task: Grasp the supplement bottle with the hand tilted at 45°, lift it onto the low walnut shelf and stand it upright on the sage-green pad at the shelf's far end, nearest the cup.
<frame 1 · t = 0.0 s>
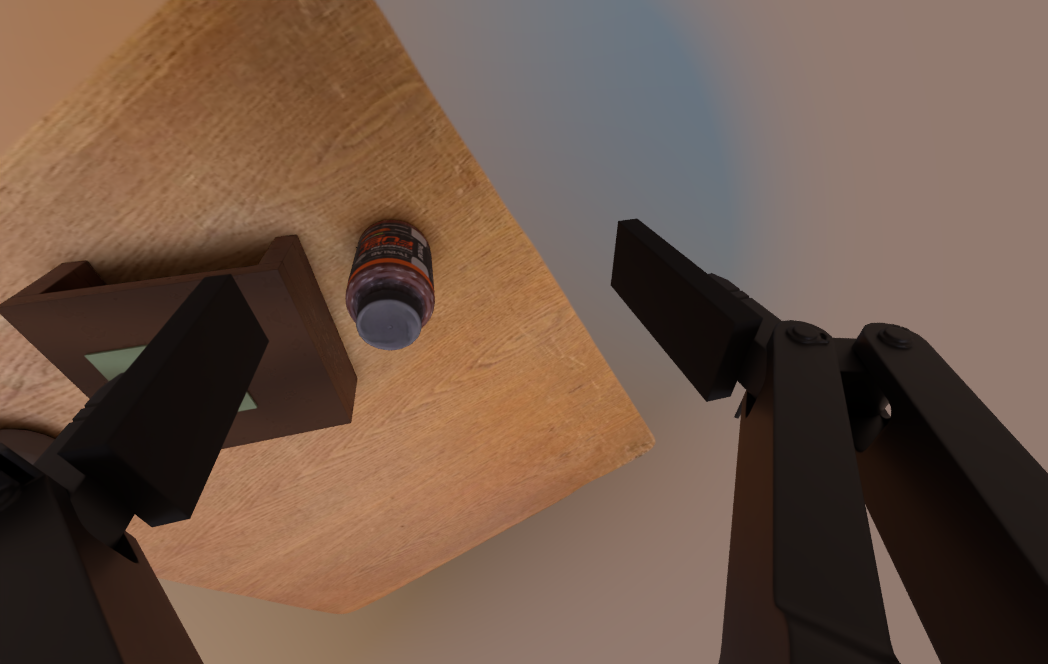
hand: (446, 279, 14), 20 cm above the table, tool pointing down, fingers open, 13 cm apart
cup: (27, 446, 36), on the table
supplement bottle: (395, 249, 34), on the table
shelf: (236, 331, 34), on the table
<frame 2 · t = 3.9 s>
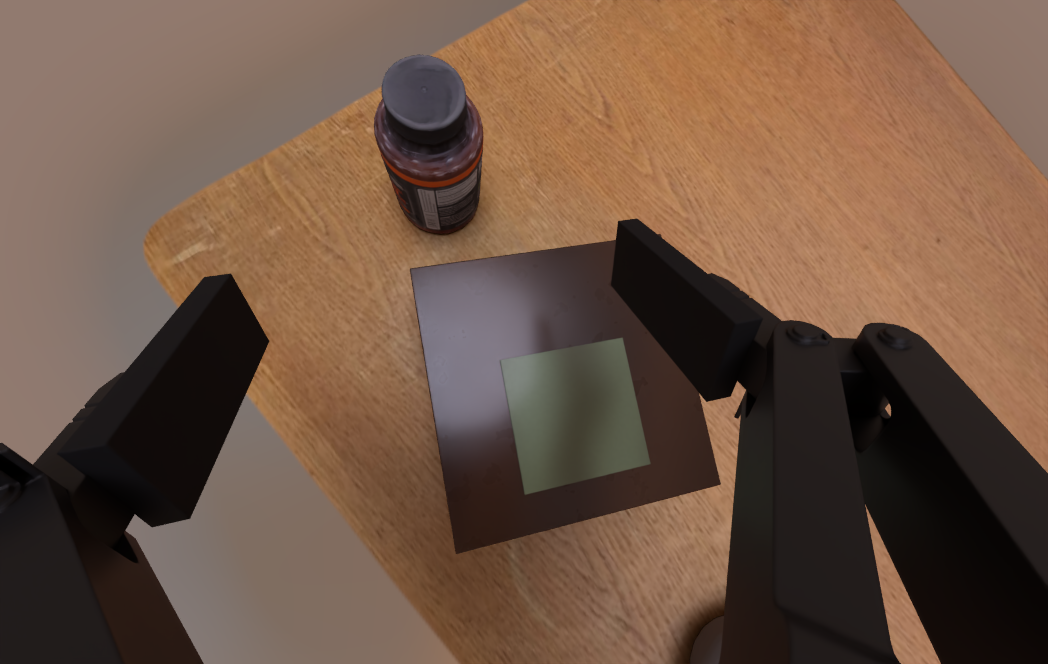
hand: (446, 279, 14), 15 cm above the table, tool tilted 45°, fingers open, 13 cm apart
cup: (726, 657, 28), on the table
supplement bottle: (440, 200, 30), on the table
shelf: (547, 380, 29), on the table
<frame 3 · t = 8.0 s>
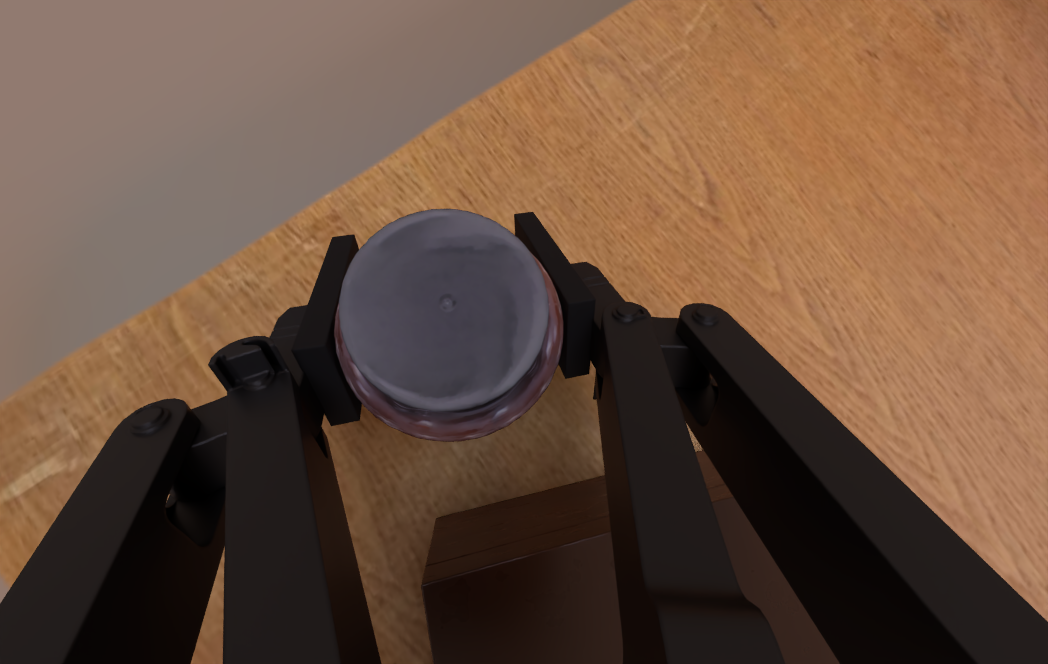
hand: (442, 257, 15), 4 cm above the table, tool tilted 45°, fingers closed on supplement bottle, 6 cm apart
supplement bottle: (461, 353, 19), on the table, touching gripper
shelf: (642, 653, 18), on the table
when the fingers open (10 cm above the table, at t = 14.8 s): supplement bottle stays where it is, resting on shelf.
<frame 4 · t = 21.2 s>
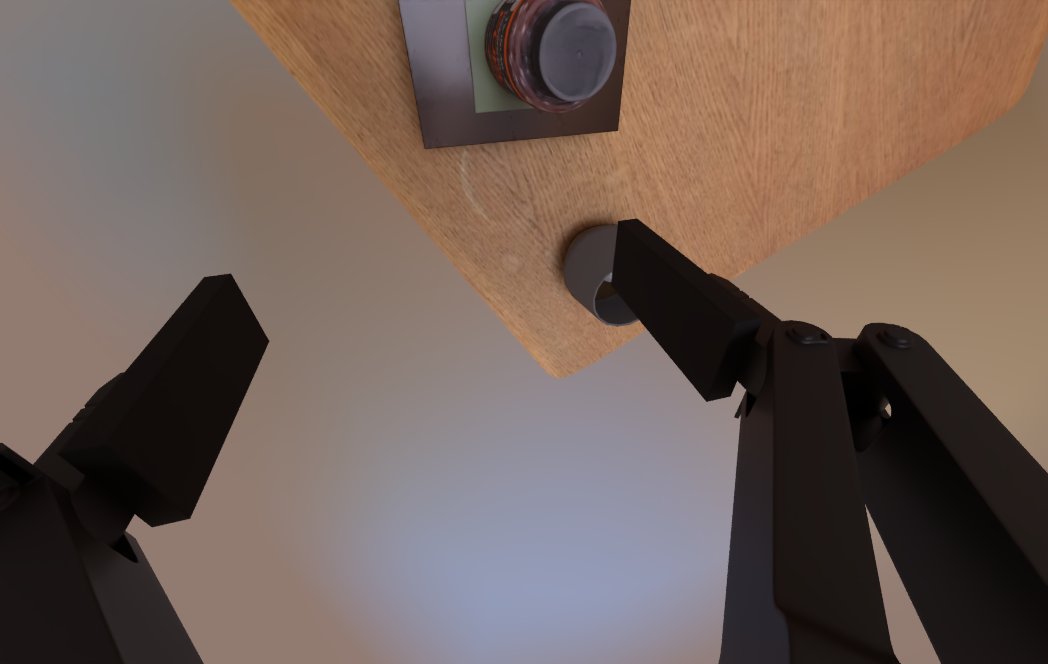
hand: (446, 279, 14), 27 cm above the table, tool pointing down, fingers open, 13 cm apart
cup: (590, 251, 46), on the table
supplement bottle: (523, 47, 28), point 6 cm above the table, touching shelf
shelf: (504, 14, 31), on the table
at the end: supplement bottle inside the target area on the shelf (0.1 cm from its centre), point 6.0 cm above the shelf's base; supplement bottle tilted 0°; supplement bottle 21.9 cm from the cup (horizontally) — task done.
